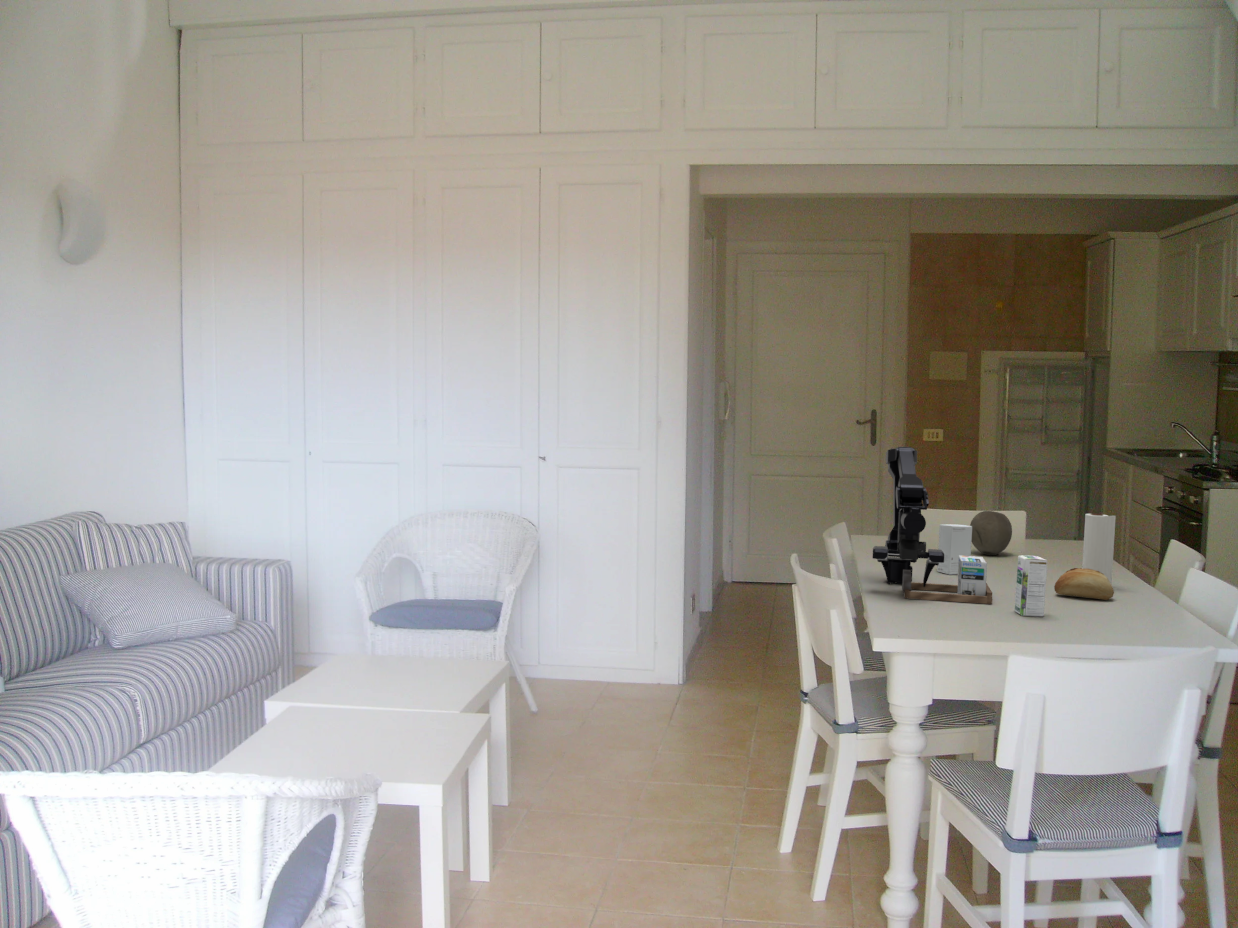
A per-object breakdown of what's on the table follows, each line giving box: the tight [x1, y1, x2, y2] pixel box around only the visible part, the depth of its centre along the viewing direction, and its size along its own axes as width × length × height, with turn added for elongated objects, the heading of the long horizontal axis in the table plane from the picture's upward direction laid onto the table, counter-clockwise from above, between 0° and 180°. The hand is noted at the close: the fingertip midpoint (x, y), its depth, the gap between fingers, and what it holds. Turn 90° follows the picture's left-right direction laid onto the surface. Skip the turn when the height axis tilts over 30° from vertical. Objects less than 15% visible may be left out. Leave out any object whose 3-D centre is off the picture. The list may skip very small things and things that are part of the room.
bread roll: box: [1053, 567, 1115, 601], centre depth 292 cm, size 10×15×8 cm, turn 72°
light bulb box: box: [956, 555, 988, 596], centre depth 287 cm, size 11×7×11 cm, turn 167°
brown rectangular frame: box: [901, 570, 993, 605], centre depth 289 cm, size 22×15×6 cm
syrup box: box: [1014, 554, 1048, 617], centre depth 268 cm, size 6×6×14 cm
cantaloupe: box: [969, 510, 1013, 556], centre depth 365 cm, size 14×14×15 cm
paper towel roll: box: [1081, 513, 1117, 586], centre depth 306 cm, size 7×6×21 cm
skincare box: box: [936, 523, 972, 576], centre depth 326 cm, size 8×6×15 cm
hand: (906, 585), depth 291 cm, fingers open, 9 cm apart
